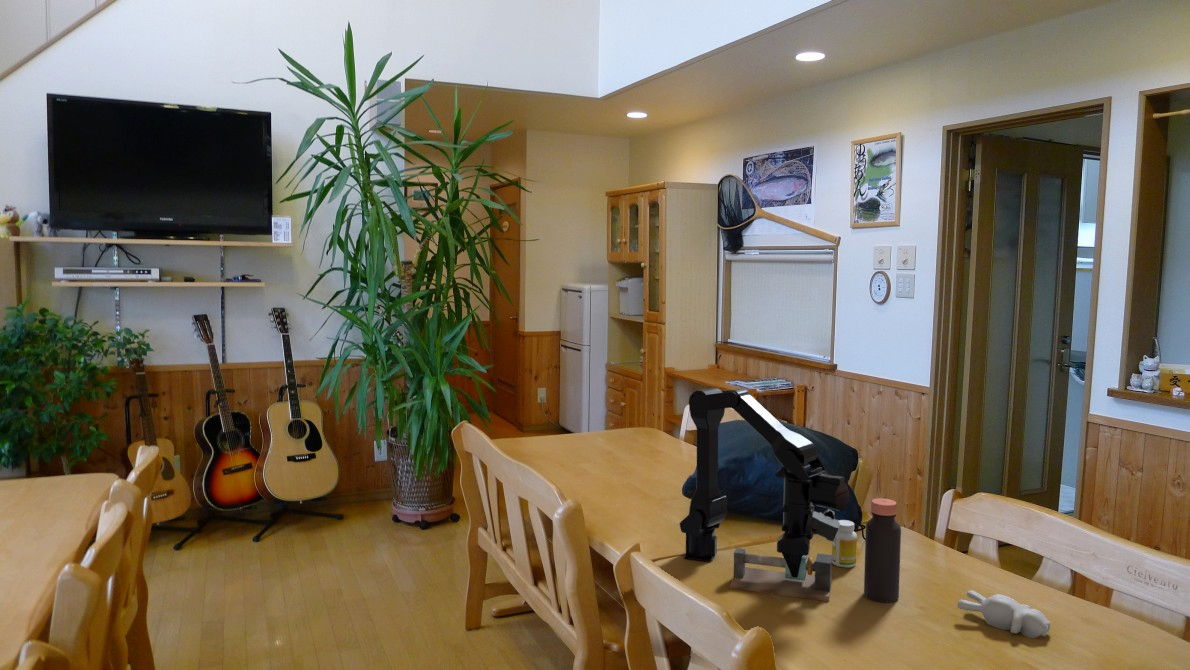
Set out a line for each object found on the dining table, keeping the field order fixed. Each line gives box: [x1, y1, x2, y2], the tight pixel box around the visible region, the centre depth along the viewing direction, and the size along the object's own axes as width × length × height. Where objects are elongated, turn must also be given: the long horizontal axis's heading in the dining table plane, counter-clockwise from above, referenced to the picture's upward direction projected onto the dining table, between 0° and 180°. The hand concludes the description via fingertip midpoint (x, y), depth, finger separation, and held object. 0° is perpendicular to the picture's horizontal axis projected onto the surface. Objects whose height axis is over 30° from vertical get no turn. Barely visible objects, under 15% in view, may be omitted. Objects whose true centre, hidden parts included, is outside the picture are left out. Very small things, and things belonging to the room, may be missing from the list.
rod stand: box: [730, 547, 833, 602], centre depth 170 cm, size 20×10×7 cm, turn 70°
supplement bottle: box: [831, 519, 858, 569], centre depth 182 cm, size 5×5×10 cm
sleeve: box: [784, 555, 808, 581], centre depth 169 cm, size 4×5×5 cm
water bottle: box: [863, 497, 902, 604], centre depth 163 cm, size 7×7×20 cm
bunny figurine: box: [957, 590, 1052, 639], centre depth 151 cm, size 10×5×15 cm
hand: (796, 572), depth 169 cm, fingers closed on sleeve, 5 cm apart
